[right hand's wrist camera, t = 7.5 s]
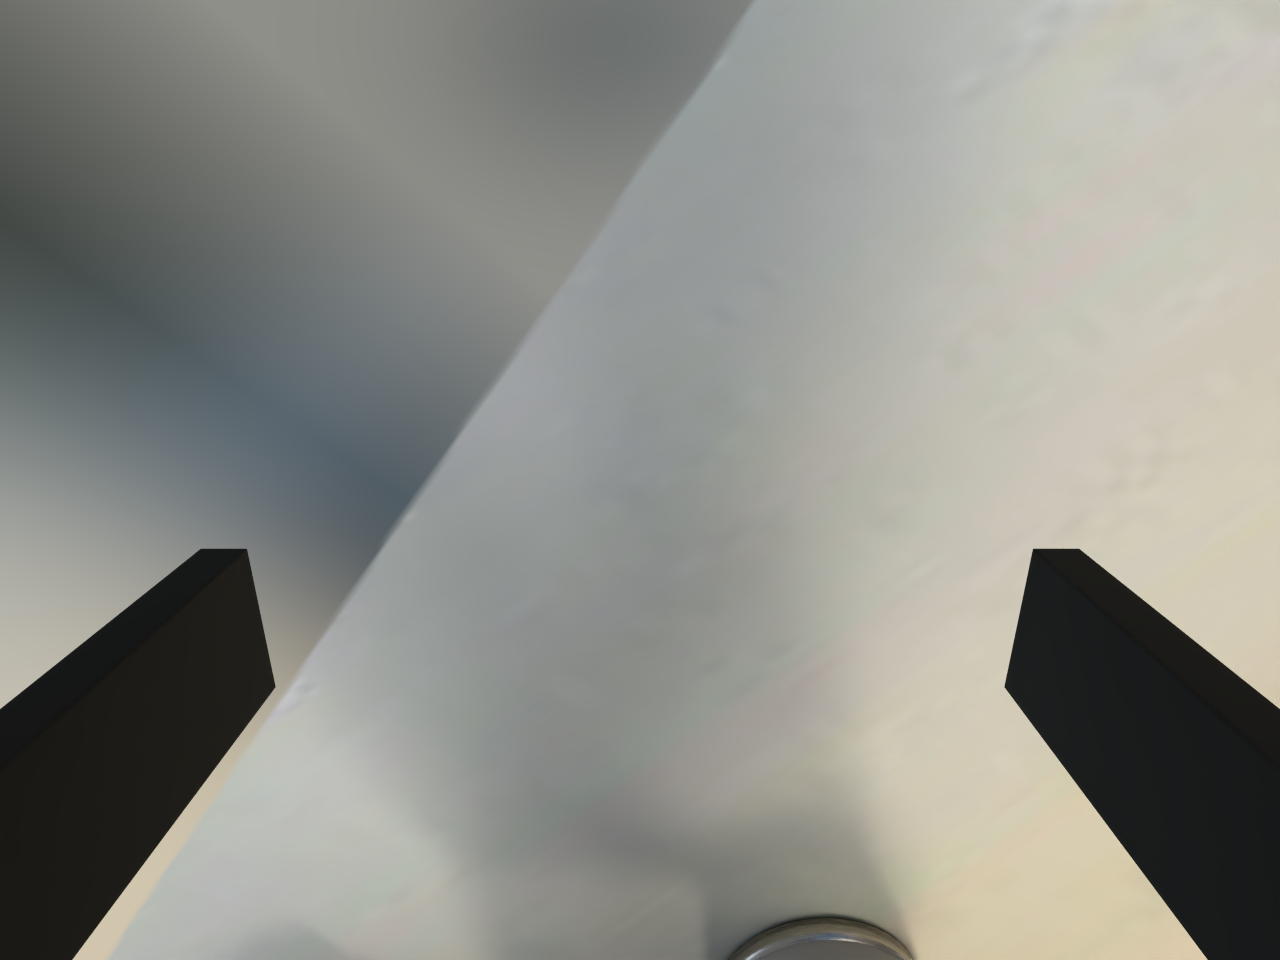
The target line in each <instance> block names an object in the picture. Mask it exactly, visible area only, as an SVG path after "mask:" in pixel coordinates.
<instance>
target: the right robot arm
mask: <svg viewBox="0 0 1280 960" xmlns="http://www.w3.org/2000/svg"><path fill="white" fill-rule="evenodd" d="M274 688H275V682H274V677H273V673H272V668H271V663H270V658H269V653H268V648H267V644H266V639H265V634H264V629H263V624H262V620H261V615H260V610H259V605H258V600H257V596H256V591H255V586H254V581H253V576H252V571H251V566H250V562H249V557H248V552H247V549H200V550H199V551H198V552H196V553H195V554H194V555H193V556H191V557H190V558H189V559H188V560H186V561H185V562H184V563H183V564H181V565H180V566H179V567H178V568H176V569H175V570H174V571H173V572H171V573H170V574H169V575H168V576H166V577H165V578H164V579H163V580H161V581H160V582H159V583H158V584H156V585H155V586H154V587H153V588H151V589H150V590H149V591H148V592H146V593H145V594H144V595H143V596H141V597H140V598H139V599H138V600H136V601H135V602H134V603H133V604H131V605H130V606H129V607H128V608H126V609H125V610H124V611H123V612H121V613H120V614H119V615H118V616H116V617H115V618H114V619H113V620H111V621H110V622H109V623H108V624H106V625H105V626H104V627H103V628H101V629H100V630H99V631H98V632H96V633H95V634H94V635H92V636H91V637H90V638H89V639H88V640H86V641H85V642H84V643H82V644H81V645H80V646H79V647H78V648H76V649H75V650H74V651H73V652H71V653H70V654H69V655H67V656H66V657H65V658H64V659H62V660H61V661H60V662H59V663H57V664H56V665H55V666H54V667H52V668H51V669H50V670H49V671H47V672H46V673H45V674H44V675H42V676H41V677H40V678H39V679H37V680H36V681H35V682H34V683H32V684H31V685H30V686H29V687H27V688H26V689H25V690H24V691H22V692H21V693H20V694H19V695H17V696H16V697H15V698H14V699H12V700H11V701H10V702H9V703H7V704H6V705H5V706H4V707H2V708H1V709H0V960H72V959H73V958H74V957H75V955H76V954H77V953H78V951H79V950H80V949H81V947H82V946H83V945H84V943H85V942H86V941H87V939H88V938H89V936H90V935H91V934H92V932H93V931H94V930H95V928H96V927H97V926H98V924H99V923H100V922H101V920H102V919H103V918H104V916H105V915H106V914H107V912H108V911H109V910H110V908H111V907H112V906H113V904H114V903H115V901H116V900H117V899H118V898H119V896H120V895H121V894H122V892H123V891H124V890H125V888H126V887H127V885H128V884H129V883H130V882H131V880H132V879H133V877H134V876H135V875H136V873H137V872H138V871H139V869H140V868H141V867H142V865H143V864H144V863H145V861H146V860H147V859H148V857H149V856H150V855H151V853H152V852H153V851H154V849H155V848H156V847H157V845H158V844H159V843H160V841H161V840H162V839H163V837H164V836H165V835H166V833H167V832H168V831H169V829H170V828H171V826H172V825H173V824H174V822H175V821H176V820H177V818H178V817H179V816H180V814H181V813H182V812H183V810H184V809H185V808H186V806H187V805H188V804H189V802H190V801H191V800H192V798H193V797H194V796H195V794H196V793H197V792H198V790H199V789H200V788H201V786H202V785H203V784H204V782H205V781H206V780H207V778H208V777H209V776H210V774H211V773H212V771H213V770H214V769H215V768H216V766H217V765H218V763H219V762H220V761H221V759H222V758H223V757H224V755H225V754H226V753H227V751H228V750H229V749H230V747H231V746H232V745H233V743H234V742H235V741H236V739H237V738H238V737H239V735H240V734H241V733H242V731H243V730H244V729H245V727H246V726H247V725H248V723H249V722H250V721H251V719H252V718H253V716H254V715H255V714H256V713H257V711H258V710H259V709H260V707H261V706H262V704H263V703H264V702H265V700H266V699H267V698H268V696H269V695H270V694H271V692H272V691H273V690H274ZM1005 688H1006V690H1007V691H1008V692H1009V694H1010V695H1011V696H1012V698H1013V699H1014V700H1015V702H1016V703H1017V704H1018V706H1019V707H1020V709H1021V710H1022V711H1023V713H1024V714H1025V715H1026V717H1027V718H1028V719H1029V721H1030V722H1031V723H1032V725H1033V726H1034V727H1035V729H1036V730H1037V731H1038V733H1039V734H1040V735H1041V737H1042V738H1043V739H1044V741H1045V742H1046V743H1047V745H1048V746H1049V747H1050V749H1051V750H1052V751H1053V753H1054V754H1055V755H1056V757H1057V758H1058V759H1059V761H1060V762H1061V763H1062V765H1063V766H1064V768H1065V769H1066V770H1067V772H1068V773H1069V774H1070V776H1071V777H1072V778H1073V780H1074V781H1075V782H1076V784H1077V785H1078V786H1079V788H1080V789H1081V790H1082V792H1083V793H1084V794H1085V796H1086V797H1087V798H1088V800H1089V801H1090V802H1091V804H1092V805H1093V806H1094V808H1095V809H1096V810H1097V812H1098V813H1099V814H1100V816H1101V817H1102V818H1103V820H1104V821H1105V823H1106V824H1107V825H1108V827H1109V828H1110V829H1111V831H1112V832H1113V833H1114V835H1115V836H1116V837H1117V839H1118V840H1119V841H1120V843H1121V844H1122V845H1123V847H1124V848H1125V849H1126V851H1127V852H1128V853H1129V855H1130V856H1131V857H1132V859H1133V860H1134V861H1135V863H1136V864H1137V865H1138V867H1139V868H1140V869H1141V871H1142V872H1143V873H1144V875H1145V876H1146V877H1147V879H1148V880H1149V882H1150V883H1151V884H1152V886H1153V887H1154V888H1155V890H1156V891H1157V892H1158V894H1159V895H1160V896H1161V898H1162V899H1163V900H1164V902H1165V903H1166V904H1167V906H1168V907H1169V908H1170V910H1171V911H1172V912H1173V914H1174V915H1175V916H1176V918H1177V919H1178V920H1179V922H1180V923H1181V924H1182V926H1183V927H1184V928H1185V930H1186V931H1187V932H1188V934H1189V935H1190V936H1191V938H1192V939H1193V941H1194V942H1195V943H1196V945H1197V946H1198V947H1199V949H1200V950H1201V951H1202V953H1203V954H1204V955H1205V957H1206V958H1207V959H1208V960H1280V709H1279V708H1278V707H1276V706H1275V705H1274V704H1273V703H1271V702H1270V701H1269V700H1268V699H1266V698H1265V697H1264V696H1263V695H1261V694H1260V693H1259V692H1258V691H1256V690H1255V689H1254V688H1253V687H1251V686H1250V685H1249V684H1248V683H1246V682H1245V681H1244V680H1243V679H1241V678H1240V677H1239V676H1238V675H1236V674H1235V673H1234V672H1233V671H1231V670H1230V669H1229V668H1228V667H1226V666H1225V665H1224V664H1223V663H1221V662H1220V661H1219V660H1218V659H1216V658H1215V657H1214V656H1213V655H1211V654H1210V653H1209V652H1208V651H1206V650H1205V649H1204V648H1203V647H1201V646H1200V645H1199V644H1198V643H1196V642H1195V641H1194V640H1193V639H1191V638H1190V637H1189V636H1188V635H1186V634H1185V633H1184V632H1183V631H1181V630H1180V629H1179V628H1178V627H1176V626H1175V625H1174V624H1172V623H1171V622H1170V621H1169V620H1167V619H1166V618H1165V617H1164V616H1162V615H1161V614H1160V613H1159V612H1157V611H1156V610H1155V609H1154V608H1152V607H1151V606H1150V605H1149V604H1147V603H1146V602H1145V601H1144V600H1142V599H1141V598H1140V597H1139V596H1137V595H1136V594H1135V593H1134V592H1132V591H1131V590H1130V589H1129V588H1127V587H1126V586H1125V585H1124V584H1122V583H1121V582H1120V581H1119V580H1117V579H1116V578H1115V577H1114V576H1112V575H1111V574H1110V573H1109V572H1107V571H1106V570H1105V569H1104V568H1102V567H1101V566H1100V565H1099V564H1097V563H1096V562H1095V561H1094V560H1092V559H1091V558H1090V557H1089V556H1087V555H1086V554H1085V553H1084V552H1082V551H1081V550H1080V549H1033V552H1032V557H1031V562H1030V566H1029V571H1028V576H1027V581H1026V586H1025V591H1024V595H1023V600H1022V605H1021V610H1020V615H1019V620H1018V624H1017V629H1016V634H1015V639H1014V644H1013V648H1012V653H1011V658H1010V663H1009V668H1008V673H1007V677H1006V682H1005ZM729 960H913V958H912V957H911V955H910V954H909V952H908V951H907V950H906V949H905V947H904V946H903V945H902V944H901V943H899V942H898V941H897V940H896V939H895V938H893V937H892V936H890V935H889V934H887V933H885V932H884V931H882V930H879V929H877V928H875V927H873V926H870V925H867V924H864V923H860V922H856V921H851V920H845V919H835V918H817V919H807V920H800V921H795V922H791V923H787V924H783V925H780V926H777V927H774V928H772V929H770V930H767V931H765V932H763V933H761V934H759V935H757V936H756V937H754V938H752V939H751V940H749V941H748V942H746V943H745V944H744V945H742V946H741V947H740V948H739V949H738V950H737V951H736V952H735V953H734V954H733V955H732V956H731V957H730V958H729Z"/></svg>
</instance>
